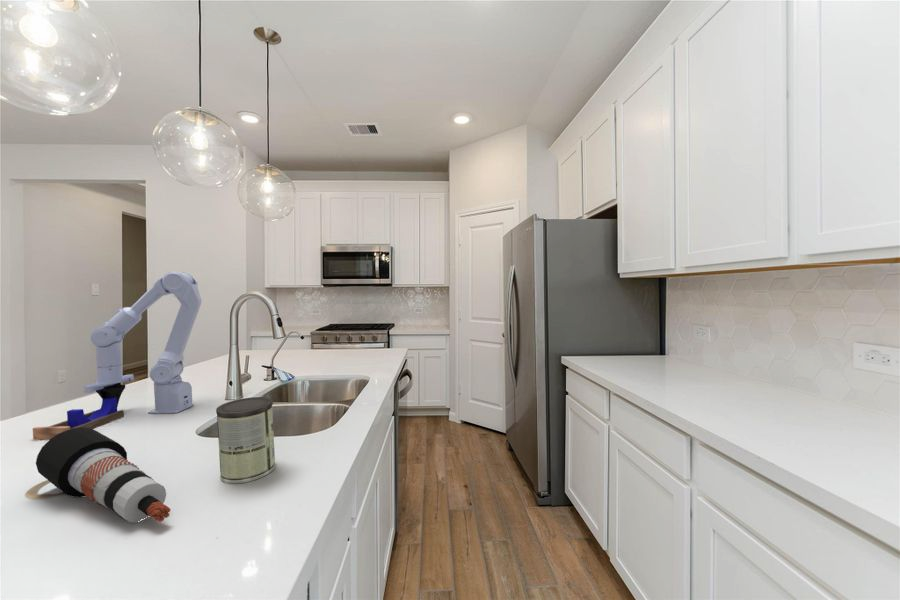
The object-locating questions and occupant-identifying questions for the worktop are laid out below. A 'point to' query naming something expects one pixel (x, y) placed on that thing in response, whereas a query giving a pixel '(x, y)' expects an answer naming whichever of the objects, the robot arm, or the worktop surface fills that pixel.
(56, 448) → the cable
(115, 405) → the cable clip
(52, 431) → the brown wooden piece
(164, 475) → the worktop surface
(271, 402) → the coffee can
